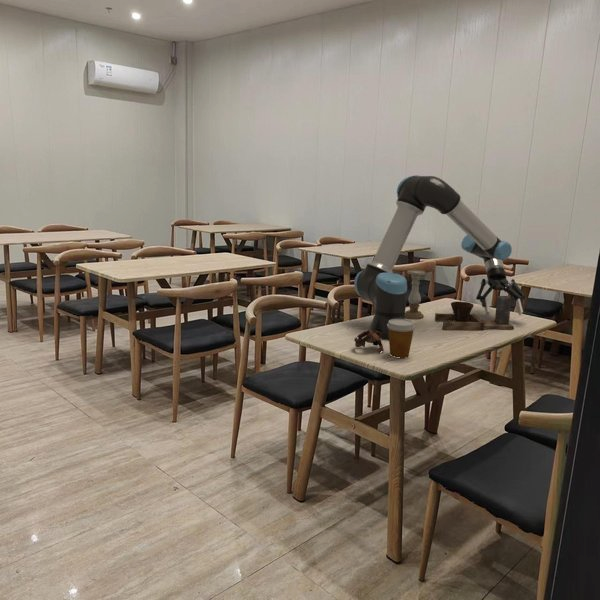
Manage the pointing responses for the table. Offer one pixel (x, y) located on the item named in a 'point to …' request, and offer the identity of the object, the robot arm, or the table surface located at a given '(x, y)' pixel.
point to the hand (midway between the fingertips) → (504, 313)
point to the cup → (461, 311)
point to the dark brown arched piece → (369, 339)
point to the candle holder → (414, 296)
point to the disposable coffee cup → (400, 336)
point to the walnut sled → (477, 324)
